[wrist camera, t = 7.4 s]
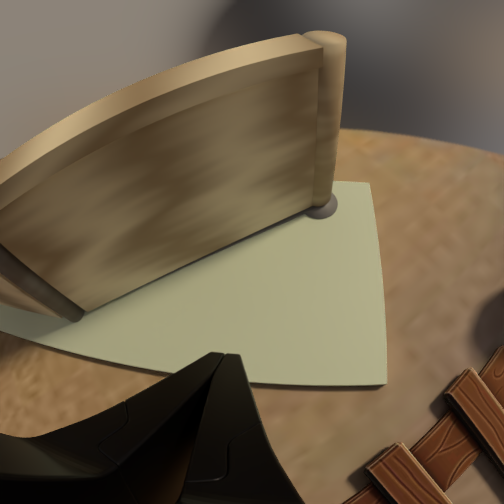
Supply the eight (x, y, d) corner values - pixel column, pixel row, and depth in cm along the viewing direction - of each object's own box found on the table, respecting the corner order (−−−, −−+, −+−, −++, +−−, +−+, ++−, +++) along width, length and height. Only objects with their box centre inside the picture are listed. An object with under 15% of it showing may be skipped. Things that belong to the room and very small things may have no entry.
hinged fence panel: (88, 316, 16) (-37, 214, 8) (83, 291, 17) (-29, 183, 9) (336, 199, 19) (355, 42, 10) (320, 180, 20) (328, 28, 11)
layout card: (-27, 320, 18) (-31, 318, 17) (23, 196, 24) (20, 193, 23) (384, 384, 14) (387, 383, 13) (368, 186, 20) (369, 181, 19)
